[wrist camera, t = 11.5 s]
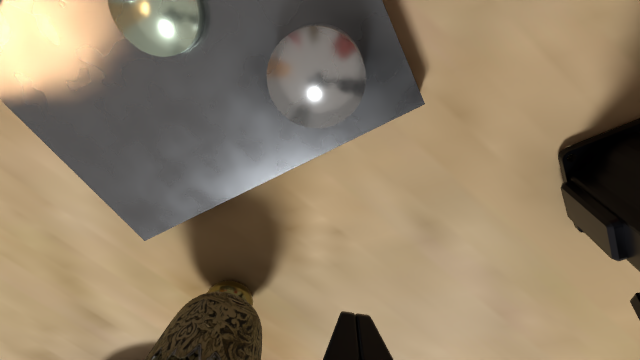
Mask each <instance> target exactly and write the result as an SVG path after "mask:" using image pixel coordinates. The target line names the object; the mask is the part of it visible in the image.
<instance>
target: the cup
mask: <svg viewBox="0 0 640 360" xmlns="http://www.w3.org/2000/svg"><path fill="white" fill-rule="evenodd" d="M252 306H253V299H252V295H251V292H250V291H249V289H248V288H247V287H246V286H244V285H243V284H241V283H239V282H236V281H231V280H226V281H221V282H218V283H216V284H215V285H214V286H212V287H211V288H210V289H209V291H208V292H207V293H206V294H202V295H200V296H198V297H196V298H194V299H192V300H191V301H189V302H188V303H187V304H186V305H185V306H184V307H183V308H182V309H181V310H180V311H179V312H178V313H177V315H176V316H175V317H174V318H173V320H172V321H171V322H170V324H169V325H168V327H167V328H166V330H165V331H164V332H163V334H162V335H161V337H160V338H159V340H158V341H157V343H156V344H155V346H154V347H153V349H152V350H151V352H150V353H149V355H148V356H147V358H146V359H145V360H261V351H262V327H261V323H260V319H259V317H258V314H257V312H256V311H255V309H254V308H253V307H252Z"/></svg>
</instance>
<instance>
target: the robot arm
mask: <svg viewBox="0 0 640 360" xmlns="http://www.w3.org/2000/svg"><path fill="white" fill-rule="evenodd" d="M571 154H572V156H571V157H570V158H568V159H567V157H568V156H569V155H571ZM558 160H559V164H560V168H561V172H562V176H563V180H564V183H563V184H562V186H561V191H562V195H563V199H564V203H565V207H566V211H567V215H568V217H569V218H570V219H571V220H572V221H573V222H574V226H575V227H576V228H577V229H578V230H579V231H580V232H584V233H585V234H586V235H588V236H589V237H590V238H591V239H592V240H593V241H594V242H595V243H596V244H597V245H598V246H599V247H600V248H601V249H602V250H603V251H604V252H605V253H606V254H607V255H608V256H609V257H610V258H611V259H614V260H617V261H621V260H624V259H626V260H628V261H629V262H630V263H631V264H632V265H633V266H634V267H635V268H636V269H637V270H638V271H640V119H638V120H635V121H633V122H630V123H628V124H625V125H623V126H620V127H618V128H615V129H613V130H610V131H608V132H605V133H602V134H600V135H597V136H595V137H592V138H590V139H587V140H585V141H582V142H580V143H577V144H575V145H572V146H570V147H567V148H565V149H563V150H562V151H561V152H560V153H559V155H558ZM630 302H631V304H632V306H633V308H634V310H635V312H636V314H637V316H638V318H639V320H640V293H636V294H635V295H634V297H633V298H632V299H631V300H630ZM323 360H393V358H392V356H391V354H390V352H389V351H388V349H387V347H386V345H385V343H384V341H383V339H382V337H381V336H380V334H379V332H378V330H377V328H376V326H375V324H374V322H373V320H372V319H371V317H370V316H369V315H364V314H356V315H355V314H354V313H351V312H344V311H342V312H341V313H340V316H339V318H338V321H337V324H336V326H335V329H334V332H333V334H332V337H331V340H330V342H329V345H328V348H327V350H326V353H325V355H324V358H323Z"/></svg>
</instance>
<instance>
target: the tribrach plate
mask: <svg viewBox="0 0 640 360" xmlns="http://www.w3.org/2000/svg"><path fill="white" fill-rule="evenodd" d="M0 100H1V101H2V102H3V103H4V104H5V105H6V106H7V107H8V108H9V109H10V110H11V111H12V112H13V113H14V114H15V115H16V116H18V117H19V118H20V119H21V120H22V121H23V122H24V123H25V124H26V125H27V126H28V127H29V128H30V129H31V130H32V131H33V132H34V133H35V134H36V135H37V136H38V137H39V138H40V139H41V140H42V141H43V142H44V143H45V144H46V145H47V146H48V147H49V148H50V149H51V150H52V151H53V152H54V153H55V154H56V155H57V156H58V157H59V158H60V159H61V160H63V161H64V162H65V163H66V164H67V165H68V166H69V167H70V168H71V169H72V170H73V171H74V172H75V173H76V174H77V175H78V176H79V177H80V178H81V179H82V180H83V181H84V182H85V183H86V184H87V185H88V186H89V187H90V188H91V189H92V190H93V191H94V192H95V193H96V194H97V195H98V196H99V197H100V198H101V199H102V200H103V201H104V202H105V203H106V204H108V205H109V206H110V207H111V208H112V209H113V210H114V211H115V212H116V213H117V214H118V215H119V216H120V217H121V218H122V219H123V220H124V221H125V222H126V223H127V224H128V225H129V226H130V227H131V228H132V229H133V230H134V231H135V232H136V233H137V234H138V235H139V236H140V237H141V238H142V239H143V240H144V241H145V240H148V239H150V238H152V237H154V236H156V235H158V234H160V233H162V232H164V231H166V230H168V229H170V228H172V227H174V226H176V225H178V224H180V223H182V222H184V221H186V220H188V219H191V218H193V217H195V216H197V215H199V214H201V213H203V212H205V211H207V210H209V209H211V208H213V207H215V206H217V205H219V204H221V203H223V202H225V201H227V200H229V199H231V198H234V197H236V196H238V195H240V194H242V193H244V192H246V191H248V190H250V189H252V188H254V187H256V186H258V185H260V184H262V183H264V182H266V181H268V180H270V179H272V178H274V177H277V176H279V175H281V174H283V173H285V172H287V171H289V170H291V169H293V168H295V167H297V166H299V165H301V164H303V163H305V162H307V161H309V160H311V159H313V158H315V157H317V156H320V155H322V154H324V153H326V152H328V151H330V150H332V149H334V148H336V147H338V146H340V145H342V144H344V143H346V142H348V141H350V140H352V139H354V138H356V137H358V136H360V135H363V134H365V133H367V132H369V131H371V130H373V129H375V128H377V127H379V126H381V125H383V124H385V123H387V122H389V121H391V120H393V119H395V118H397V117H399V116H401V115H403V114H406V113H408V112H410V111H412V110H414V109H416V108H418V107H420V106H422V105H424V104H425V103H424V101H423V98H422V96H421V93H420V91H419V89H418V86H417V84H416V81H415V79H414V76H413V74H412V72H411V69H410V67H409V64H408V62H407V60H406V57H405V55H404V52H403V50H402V47H401V45H400V43H399V40H398V38H397V35H396V33H395V31H394V28H393V26H392V23H391V21H390V18H389V16H388V14H387V11H386V9H385V6H384V4H383V1H382V0H0Z"/></svg>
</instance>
